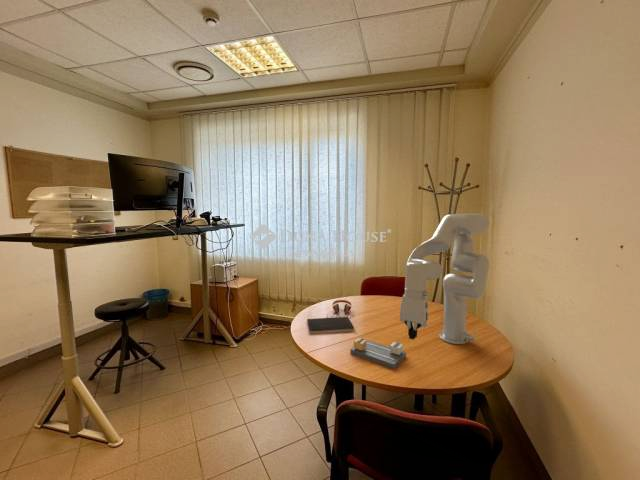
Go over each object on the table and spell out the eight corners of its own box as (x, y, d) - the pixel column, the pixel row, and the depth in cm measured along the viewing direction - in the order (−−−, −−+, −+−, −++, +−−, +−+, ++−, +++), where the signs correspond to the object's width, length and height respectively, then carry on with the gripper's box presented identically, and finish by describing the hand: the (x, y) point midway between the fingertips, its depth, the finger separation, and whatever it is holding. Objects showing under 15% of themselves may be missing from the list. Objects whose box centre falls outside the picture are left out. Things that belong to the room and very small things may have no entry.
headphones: (325, 314, 161) (328, 296, 180) (326, 322, 163) (328, 303, 181) (355, 316, 159) (355, 297, 178) (355, 324, 161) (355, 304, 179)
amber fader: (366, 347, 124) (366, 339, 123) (361, 350, 120) (361, 342, 120) (358, 344, 126) (358, 336, 126) (353, 347, 123) (353, 339, 122)
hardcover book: (354, 332, 145) (354, 328, 145) (309, 335, 142) (309, 330, 142) (347, 320, 161) (347, 316, 161) (307, 322, 158) (307, 318, 158)
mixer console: (405, 356, 120) (405, 351, 120) (394, 369, 111) (394, 364, 111) (364, 343, 132) (364, 338, 132) (350, 353, 123) (350, 348, 123)
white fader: (402, 351, 120) (403, 343, 119) (399, 355, 117) (399, 346, 116) (393, 348, 122) (394, 340, 122) (389, 352, 119) (390, 343, 119)
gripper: (437, 294, 110) (434, 340, 112) (400, 288, 120) (398, 330, 121) (431, 299, 105) (428, 347, 106) (392, 291, 114) (390, 336, 115)
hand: (412, 337), depth 114 cm, fingers closed
